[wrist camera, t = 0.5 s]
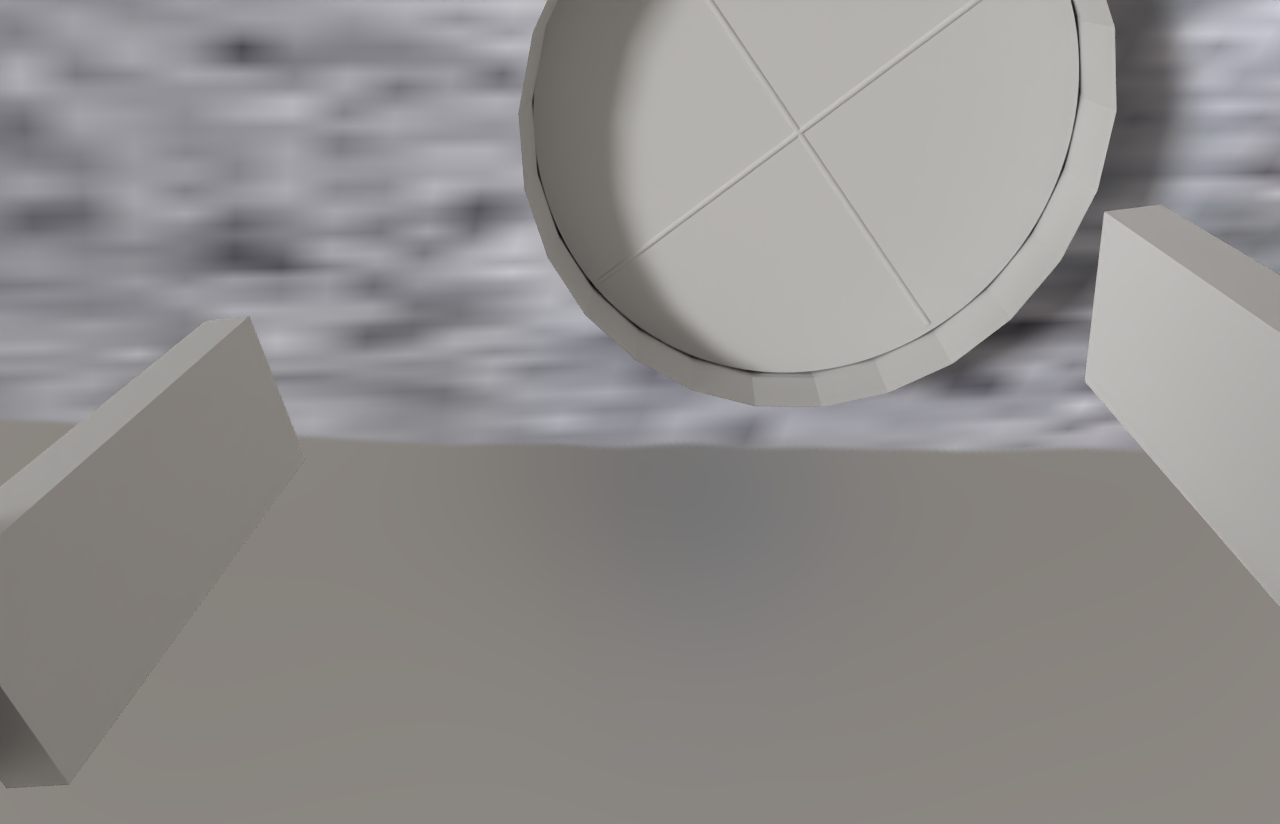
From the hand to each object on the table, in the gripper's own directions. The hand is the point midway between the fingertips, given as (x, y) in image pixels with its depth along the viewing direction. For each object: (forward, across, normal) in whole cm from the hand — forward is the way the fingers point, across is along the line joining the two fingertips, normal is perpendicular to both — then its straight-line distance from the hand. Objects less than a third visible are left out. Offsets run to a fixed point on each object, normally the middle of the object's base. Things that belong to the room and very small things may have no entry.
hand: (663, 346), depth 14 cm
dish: (+26, +5, -2) cm, 26 cm away
